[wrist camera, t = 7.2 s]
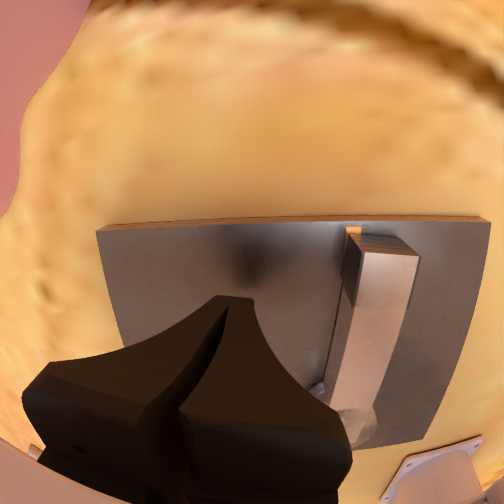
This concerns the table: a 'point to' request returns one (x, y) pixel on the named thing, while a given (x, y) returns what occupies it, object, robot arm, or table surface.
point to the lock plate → (306, 293)
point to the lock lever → (367, 328)
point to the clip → (28, 68)
